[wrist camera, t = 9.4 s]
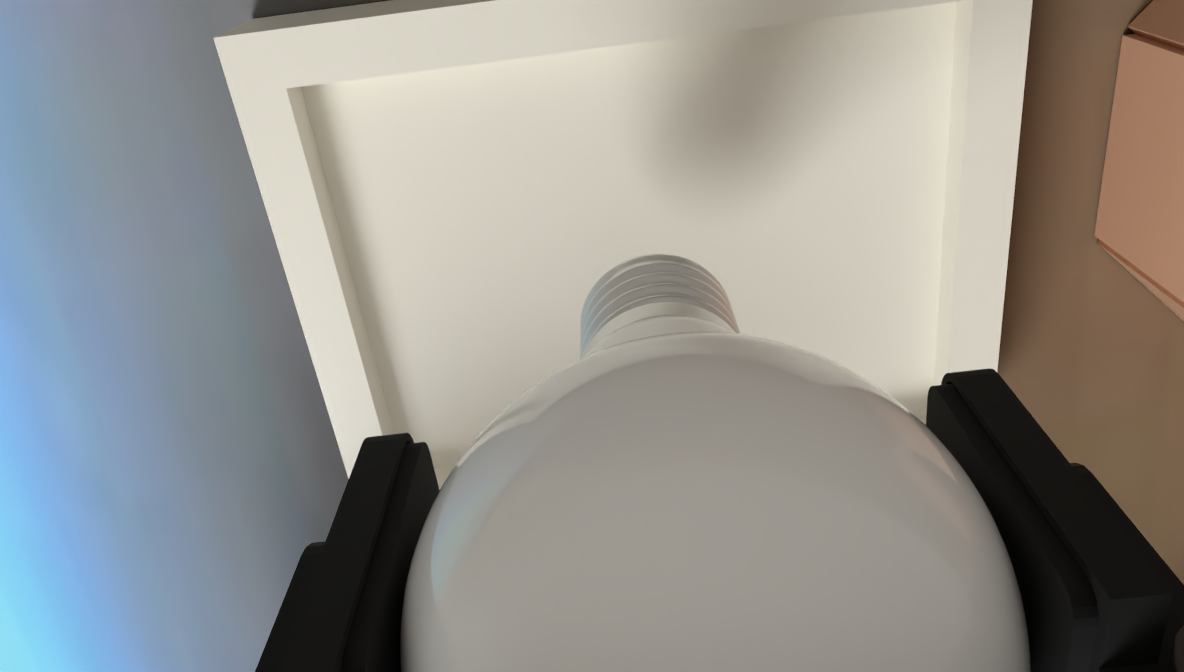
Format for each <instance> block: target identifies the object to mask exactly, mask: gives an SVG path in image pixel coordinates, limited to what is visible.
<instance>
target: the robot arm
mask: <svg viewBox="0 0 1184 672" xmlns="http://www.w3.org/2000/svg"><path fill="white" fill-rule="evenodd" d="M926 426H927V427H928V428H929V429H930V430H931V431H932V432H933V433H934V434H935V435H936V436H937V437H938V439H939V440H940V441H941V442H942V443H943V444H944V445H945V446H946V448H947V449H948V450H949V451H950V452H951V453H952V455H953V456H954V457H955V459H956V460H957V461H958V462H959V464H960V465H961V466H962V468H963V469H964V470H965V472H966V473H967V475H968V476H969V478H970V479H971V481H972V482H973V484H974V485H975V487H976V488H977V490H978V491H979V493H980V495H981V496H982V498H983V500H984V502H985V503H986V505H987V507H988V509H989V510H990V512H991V514H992V516H993V518H994V520H995V522H996V525H997V527H998V529H999V531H1000V533H1001V535H1002V538H1003V540H1004V542H1005V545H1006V547H1007V550H1008V553H1009V555H1010V558H1011V561H1012V564H1013V567H1014V570H1015V573H1016V576H1017V580H1018V583H1019V587H1020V591H1021V595H1022V599H1023V604H1024V609H1025V615H1026V620H1027V626H1028V634H1029V643H1030V654H1031V672H1184V585H1183V584H1182V583H1181V581H1180V580H1179V579H1178V578H1177V577H1176V575H1175V574H1174V573H1173V572H1172V570H1171V569H1170V568H1169V567H1168V566H1167V564H1166V563H1165V562H1164V561H1163V559H1162V558H1161V557H1160V556H1159V555H1158V553H1157V552H1156V551H1155V550H1154V548H1153V547H1152V546H1151V545H1150V544H1149V542H1148V541H1147V540H1146V539H1145V537H1144V536H1143V535H1142V534H1141V533H1140V531H1139V530H1138V529H1137V528H1136V526H1135V525H1134V524H1133V523H1132V522H1131V520H1130V519H1129V518H1128V517H1127V515H1126V514H1125V513H1124V512H1123V511H1122V509H1121V508H1120V507H1119V506H1118V504H1117V503H1116V502H1115V501H1114V500H1113V498H1112V497H1111V496H1110V495H1109V493H1108V492H1107V491H1106V490H1105V489H1104V487H1103V486H1102V485H1101V484H1100V482H1099V481H1098V480H1097V479H1096V478H1095V476H1094V475H1093V474H1092V473H1091V472H1090V471H1089V470H1088V469H1087V468H1086V467H1085V466H1084V465H1081V464H1078V463H1069V462H1068V461H1067V459H1066V458H1065V457H1064V456H1063V454H1062V453H1061V452H1060V451H1059V449H1058V448H1057V447H1056V446H1055V444H1054V443H1053V442H1052V441H1051V439H1050V438H1049V437H1048V436H1047V434H1046V433H1045V432H1044V431H1043V429H1042V428H1041V427H1040V426H1039V424H1038V423H1037V422H1036V420H1035V419H1034V418H1033V417H1032V415H1031V414H1030V413H1029V412H1028V410H1027V409H1026V408H1025V407H1024V405H1023V404H1022V403H1021V402H1020V400H1019V399H1018V398H1017V397H1016V395H1015V394H1014V393H1013V392H1012V390H1011V389H1010V388H1009V387H1008V385H1007V384H1006V383H1005V382H1004V380H1003V379H1002V378H1001V376H1000V375H999V374H998V373H997V372H996V371H995V370H994V369H990V368H988V369H979V370H970V371H961V372H952V373H946V374H945V375H944V376H943V379H942V382H941V385H937V386H931V387H930V388H929V391H928V397H927V414H926ZM439 491H440V490H439V486H438V482H437V478H436V474H435V470H434V466H433V462H432V458H431V454H430V451H429V448H428V445H427V444H426V443H425V442H419V443H414V441H413V438H412V437H411V435H410V434H409V433H400V434H391V435H382V436H373V437H367V438H365V439H364V441H363V443H362V445H361V448H360V450H359V453H358V456H357V459H356V461H355V464H354V467H353V469H352V472H351V475H350V478H349V480H348V483H347V486H346V488H345V491H344V494H343V496H342V499H341V502H340V505H339V507H338V510H337V513H336V515H335V518H334V521H333V523H332V526H331V529H330V532H329V534H328V537H327V540H326V542H317V543H311V544H310V545H308V546H307V547H306V548H305V550H304V552H303V554H302V555H301V558H300V560H299V563H298V565H297V568H296V570H295V573H294V575H293V578H292V580H291V583H290V585H289V588H288V590H287V593H286V595H285V598H284V600H283V603H282V605H281V608H280V611H279V613H278V616H277V618H276V621H275V623H274V626H273V628H272V631H271V633H270V636H269V638H268V641H267V643H266V646H265V648H264V651H263V653H262V656H261V658H260V661H259V663H258V666H257V668H256V671H255V672H400V624H401V612H402V605H403V597H404V591H405V586H406V581H407V576H408V572H409V568H410V564H411V560H412V557H413V554H414V550H415V547H416V544H417V541H418V538H419V535H420V533H421V530H422V527H423V525H424V522H425V520H426V518H427V515H428V513H429V511H430V509H431V507H432V504H433V502H434V500H435V498H436V496H437V495H438V493H439Z"/></svg>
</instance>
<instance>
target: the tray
mask: <svg viewBox="0 0 1184 672" xmlns="http://www.w3.org/2000/svg"><path fill="white" fill-rule="evenodd" d="M1032 2H1033V0H390V1H382V2H375V3H367V4H360V5H352V6H345V7H337V8H330V9H322V10H315V11H308V12H300V13H293V14H285V15H278V16H270V17H263V18H255V19H250V20H248V21H246V22H244V23H242V24H240V25H238V26H236V27H234V28H232V29H230V30H228V31H226V32H224V33H222V34H220V35H218V36H216V37H214V41H215V45H216V48H217V51H218V54H219V58H220V61H221V64H222V67H223V71H224V74H225V77H226V81H227V84H228V87H229V90H230V94H231V97H232V100H233V103H234V107H235V110H236V113H237V116H238V120H239V123H240V126H241V129H242V133H243V136H244V139H245V143H246V146H247V149H248V152H249V156H250V159H251V162H252V165H253V169H254V172H255V175H256V178H257V182H258V185H259V188H260V191H261V195H262V198H263V201H264V204H265V208H266V211H267V214H268V218H269V221H270V224H271V227H272V231H273V234H274V237H275V240H276V244H277V247H278V250H279V253H280V257H281V260H282V263H283V266H284V270H285V273H286V276H287V280H288V283H289V286H290V289H291V293H292V296H293V299H294V302H295V306H296V309H297V312H298V315H299V319H300V322H301V325H302V328H303V332H304V335H305V338H306V341H307V345H308V348H309V351H310V355H311V358H312V361H313V364H314V368H315V371H316V374H317V377H318V381H319V384H320V387H321V390H322V394H323V397H324V400H325V403H326V407H327V410H328V413H329V417H330V420H331V423H332V426H333V430H334V433H335V436H336V439H337V443H338V446H339V449H340V452H341V456H342V459H343V462H344V465H345V469H346V472H347V475H348V478H350V475H351V472H352V469H353V467H354V464H355V461H356V459H357V456H358V453H359V450H360V448H361V445H362V443H363V441H364V439H365V438H367V437H373V436H382V435H391V434H400V433H409V434H410V435H411V437H412V438H413V441H414V443H419V442H425V443H426V444H427V445H428V448H429V451H430V454H431V458H432V462H433V466H434V470H435V474H436V478H437V482H438V486H439V490H440V489H441V487H442V485H443V484H444V482H445V480H446V478H447V477H448V475H449V474H450V472H451V471H452V469H453V467H454V466H455V464H456V463H457V461H458V460H459V459H460V457H461V456H462V454H463V453H464V452H465V450H466V449H467V448H468V447H469V445H470V444H471V443H472V442H473V440H474V439H475V438H476V437H477V436H478V434H479V433H480V432H481V431H482V430H483V429H484V428H485V427H486V426H487V425H488V423H489V422H490V421H491V420H492V419H493V418H494V417H495V416H496V415H497V414H498V413H500V412H501V411H502V410H503V409H504V408H505V407H506V406H507V405H508V404H510V403H511V402H512V401H513V400H514V399H516V398H517V397H518V396H519V395H521V394H522V393H523V392H524V391H526V390H527V389H529V388H530V387H531V386H533V385H534V384H536V383H537V382H539V381H540V380H542V379H543V378H545V377H546V376H548V375H549V374H551V373H553V372H554V371H556V370H558V369H560V368H562V367H563V366H565V365H567V364H569V363H571V362H573V361H575V360H577V359H579V358H580V331H581V328H580V321H581V313H582V309H583V305H584V302H585V300H586V298H587V296H588V294H589V292H590V290H591V289H592V287H593V286H594V285H595V283H596V282H597V281H598V280H599V279H600V278H601V277H602V276H603V275H604V274H605V273H606V272H607V271H609V270H610V269H612V268H613V267H615V266H617V265H618V264H620V263H622V262H624V261H627V260H629V259H632V258H635V257H639V256H644V255H651V254H668V255H675V256H679V257H683V258H686V259H689V260H691V261H694V262H695V263H697V264H699V265H701V266H702V267H704V268H705V269H707V270H708V271H709V272H710V273H712V274H713V275H714V276H715V277H716V279H717V280H718V281H719V282H720V284H721V285H722V286H723V288H724V290H725V292H726V294H727V296H728V299H729V301H730V304H731V306H732V309H733V313H734V316H735V319H736V322H737V325H738V328H739V331H740V334H743V335H750V336H755V337H761V338H766V339H770V340H775V341H778V342H782V343H786V344H789V345H792V346H796V347H799V348H802V349H805V350H807V351H810V352H813V353H815V354H818V355H820V356H822V357H825V358H827V359H829V360H832V361H834V362H836V363H838V364H840V365H842V366H844V367H846V368H848V369H850V370H852V371H853V372H855V373H857V374H859V375H861V376H862V377H864V378H866V379H867V380H869V381H870V382H872V383H874V384H875V385H877V386H878V387H880V388H881V389H882V390H884V391H885V392H887V393H888V394H889V395H891V396H892V397H894V398H895V399H896V400H897V401H899V402H900V403H901V404H902V405H904V406H905V407H906V408H907V409H908V410H910V411H911V412H912V413H913V414H914V415H915V416H916V417H917V418H919V419H920V420H921V421H922V422H923V423H924V424H925V425H926V414H927V397H928V391H929V388H930V387H931V386H937V385H941V382H942V379H943V376H944V375H945V374H946V373H952V372H961V371H970V370H979V369H988V368H990V369H994V370H995V371H996V372H997V369H998V358H999V348H1000V337H1001V327H1002V316H1003V306H1004V295H1005V285H1006V275H1007V264H1008V254H1009V243H1010V233H1011V222H1012V212H1013V201H1014V191H1015V180H1016V170H1017V159H1018V149H1019V138H1020V128H1021V117H1022V107H1023V96H1024V86H1025V75H1026V65H1027V54H1028V44H1029V33H1030V23H1031V12H1032Z"/></svg>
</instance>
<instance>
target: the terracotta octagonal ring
mask: <svg viewBox="0 0 1184 672" xmlns="http://www.w3.org/2000/svg"><path fill="white" fill-rule="evenodd" d="M1128 27H1129V28H1130V29H1131V30H1132V31H1133V32H1134V33H1135V34H1128V35H1123V37H1122V44H1121V51H1120V58H1119V65H1118V72H1117V79H1116V86H1115V93H1114V100H1113V107H1112V114H1111V121H1110V129H1109V136H1108V143H1107V150H1106V157H1105V164H1104V171H1103V178H1102V185H1101V192H1100V199H1099V206H1098V213H1097V221H1096V228H1095V235H1094V236H1096V237H1097V238H1098V239H1099V240H1098V241H1097V243H1098V244H1099V245H1100V246H1101V247H1102V248H1104V249H1105V250H1106V251H1107V252H1108V253H1109V254H1110V255H1111V256H1112V257H1113V258H1115V259H1116V260H1117V261H1118V262H1119V263H1120V264H1121V265H1122V266H1123V267H1124V268H1126V269H1127V270H1128V271H1129V272H1130V273H1131V274H1132V275H1133V276H1134V277H1136V278H1137V279H1138V280H1139V281H1140V282H1141V283H1142V284H1143V285H1144V286H1145V287H1147V288H1148V289H1149V290H1150V291H1151V292H1152V293H1153V294H1154V295H1155V296H1156V297H1158V298H1159V299H1160V300H1161V301H1162V302H1163V303H1164V304H1165V305H1166V306H1167V307H1169V308H1170V309H1171V310H1172V311H1173V312H1174V313H1175V314H1176V315H1177V316H1178V317H1180V318H1181V319H1182V320H1183V321H1184V0H1153V1H1152V2H1151V3H1150V4H1149V5H1148V6H1147V7H1146V8H1145V9H1144V10H1143V11H1142V12H1141V13H1140V14H1139V15H1138V16H1137V17H1136V18H1135V19H1134V20H1133V21H1132V22H1131V23H1130V24H1129V25H1128Z"/></svg>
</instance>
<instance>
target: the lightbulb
mask: <svg viewBox="0 0 1184 672" xmlns="http://www.w3.org/2000/svg"><path fill="white" fill-rule="evenodd" d="M580 328H581V331H580V358H579V359H577V360H575V361H573V362H571V363H569V364H567V365H565V366H563V367H562V368H560V369H558V370H556V371H554V372H553V373H551V374H549V375H548V376H546V377H545V378H543V379H542V380H540V381H539V382H537V383H536V384H534V385H533V386H531V387H530V388H529V389H527V390H526V391H524V392H523V393H522V394H521V395H519V396H518V397H517V398H516V399H514V400H513V401H512V402H511V403H510V404H508V405H507V406H506V407H505V408H504V409H503V410H502V411H501V412H500V413H498V414H497V415H496V416H495V417H494V418H493V419H492V420H491V421H490V422H489V423H488V425H487V426H486V427H485V428H484V429H483V430H482V431H481V432H480V433H479V434H478V436H477V437H476V438H475V439H474V440H473V442H472V443H471V444H470V445H469V447H468V448H467V449H466V450H465V452H464V453H463V454H462V456H461V457H460V459H459V460H458V461H457V463H456V464H455V466H454V467H453V469H452V471H451V472H450V474H449V475H448V477H447V478H446V480H445V482H444V484H443V485H442V487H441V489H440V491H439V493H438V495H437V496H436V498H435V500H434V502H433V504H432V507H431V509H430V511H429V513H428V515H427V518H426V520H425V522H424V525H423V527H422V530H421V533H420V535H419V538H418V541H417V544H416V547H415V550H414V554H413V557H412V560H411V564H410V568H409V572H408V576H407V581H406V586H405V591H404V597H403V605H402V612H401V624H400V672H1031V654H1030V643H1029V634H1028V626H1027V620H1026V615H1025V609H1024V604H1023V599H1022V595H1021V591H1020V587H1019V583H1018V580H1017V576H1016V573H1015V570H1014V567H1013V564H1012V561H1011V558H1010V555H1009V553H1008V550H1007V547H1006V545H1005V542H1004V540H1003V538H1002V535H1001V533H1000V531H999V529H998V527H997V525H996V522H995V520H994V518H993V516H992V514H991V512H990V510H989V509H988V507H987V505H986V503H985V502H984V500H983V498H982V496H981V495H980V493H979V491H978V490H977V488H976V487H975V485H974V484H973V482H972V481H971V479H970V478H969V476H968V475H967V473H966V472H965V470H964V469H963V468H962V466H961V465H960V464H959V462H958V461H957V460H956V459H955V457H954V456H953V455H952V453H951V452H950V451H949V450H948V449H947V448H946V446H945V445H944V444H943V443H942V442H941V441H940V440H939V439H938V437H937V436H936V435H935V434H934V433H933V432H932V431H931V430H930V429H929V428H928V427H927V426H926V425H925V424H924V423H923V422H922V421H921V420H920V419H919V418H917V417H916V416H915V415H914V414H913V413H912V412H911V411H910V410H908V409H907V408H906V407H905V406H904V405H902V404H901V403H900V402H899V401H897V400H896V399H895V398H894V397H892V396H891V395H889V394H888V393H887V392H885V391H884V390H882V389H881V388H880V387H878V386H877V385H875V384H874V383H872V382H870V381H869V380H867V379H866V378H864V377H862V376H861V375H859V374H857V373H855V372H853V371H852V370H850V369H848V368H846V367H844V366H842V365H840V364H838V363H836V362H834V361H832V360H829V359H827V358H825V357H822V356H820V355H818V354H815V353H813V352H810V351H807V350H805V349H802V348H799V347H796V346H792V345H789V344H786V343H782V342H778V341H775V340H770V339H766V338H761V337H755V336H750V335H743V334H740V331H739V328H738V325H737V322H736V319H735V316H734V313H733V309H732V306H731V304H730V301H729V299H728V296H727V294H726V292H725V290H724V288H723V286H722V285H721V284H720V282H719V281H718V280H717V279H716V277H715V276H714V275H713V274H712V273H710V272H709V271H708V270H707V269H705V268H704V267H702V266H701V265H699V264H697V263H695V262H694V261H691V260H689V259H686V258H683V257H679V256H675V255H668V254H651V255H644V256H639V257H635V258H632V259H629V260H627V261H624V262H622V263H620V264H618V265H617V266H615V267H613V268H612V269H610V270H609V271H607V272H606V273H605V274H604V275H603V276H602V277H601V278H600V279H599V280H598V281H597V282H596V283H595V285H594V286H593V287H592V289H591V290H590V292H589V294H588V296H587V298H586V300H585V302H584V305H583V309H582V313H581V321H580Z"/></svg>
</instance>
